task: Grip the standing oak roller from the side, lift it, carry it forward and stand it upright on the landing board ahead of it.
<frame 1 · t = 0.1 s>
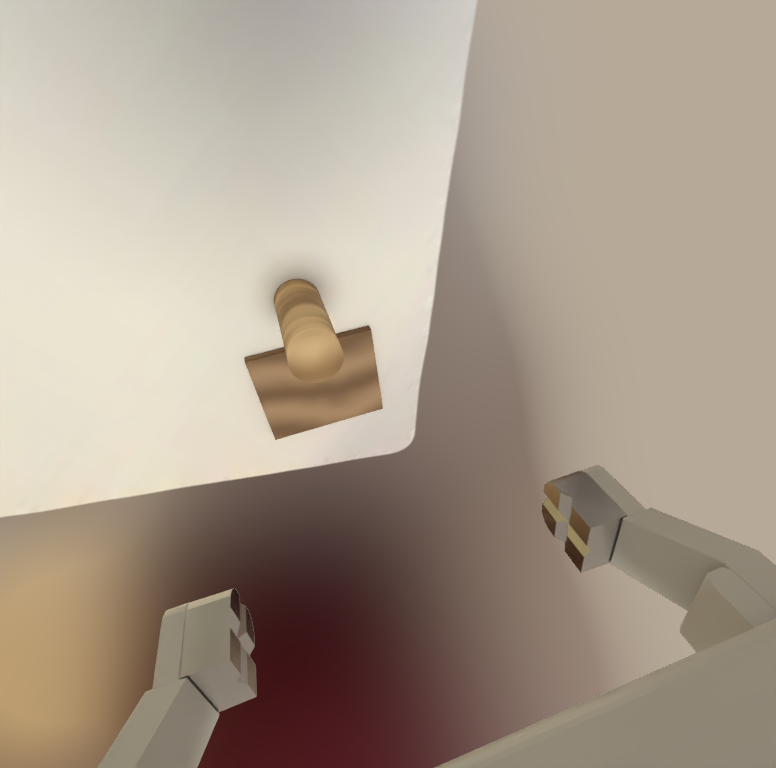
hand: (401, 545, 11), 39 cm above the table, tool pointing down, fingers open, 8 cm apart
landing board: (319, 383, 56), on the table
oak roller: (297, 300, 48), on the table
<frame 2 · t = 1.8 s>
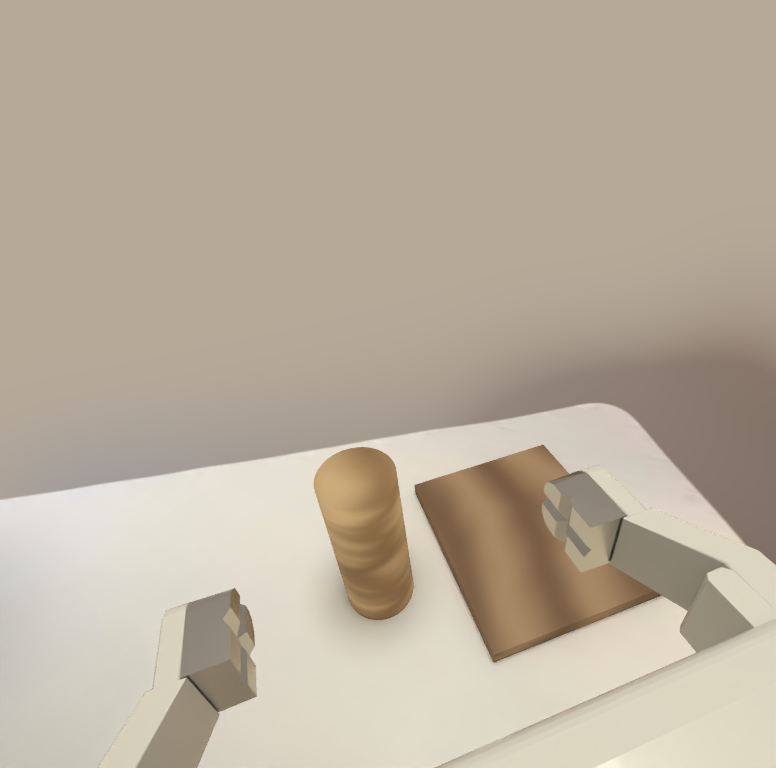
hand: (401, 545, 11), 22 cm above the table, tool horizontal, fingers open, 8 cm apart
landing board: (522, 535, 35), on the table
oak roller: (380, 586, 33), on the table
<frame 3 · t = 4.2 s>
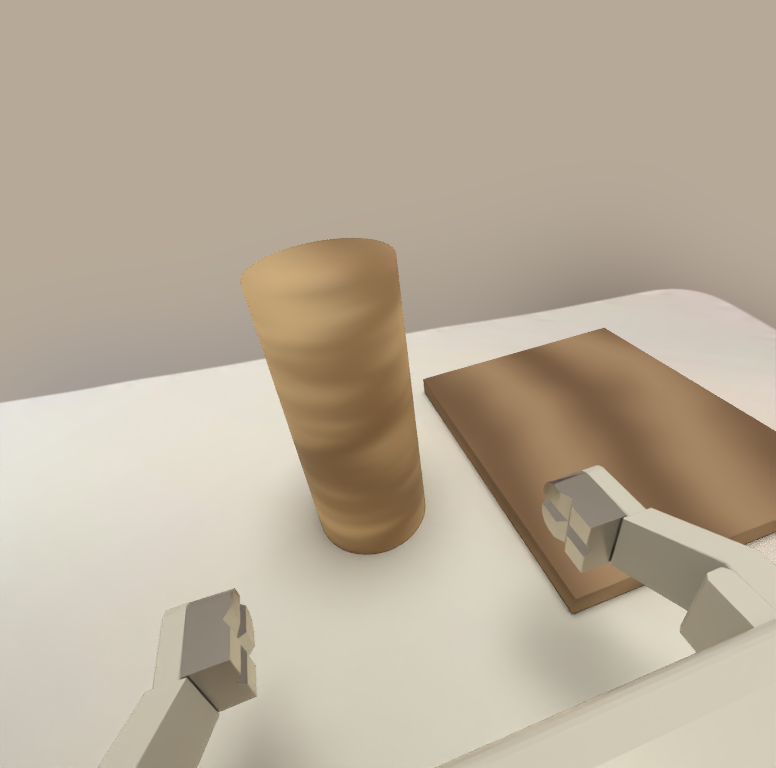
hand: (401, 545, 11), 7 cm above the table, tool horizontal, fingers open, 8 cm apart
landing board: (591, 434, 23), on the table
oak roller: (372, 507, 21), on the table
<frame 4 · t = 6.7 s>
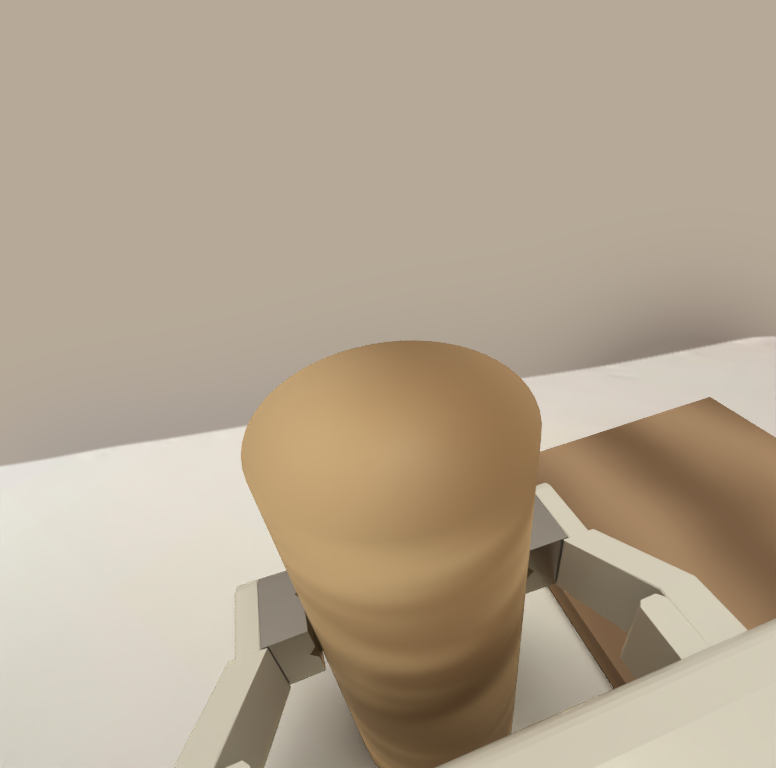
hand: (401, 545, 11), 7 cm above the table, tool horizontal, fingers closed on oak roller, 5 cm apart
landing board: (733, 574, 16), on the table
oak roller: (433, 696, 14), on the table, touching gripper
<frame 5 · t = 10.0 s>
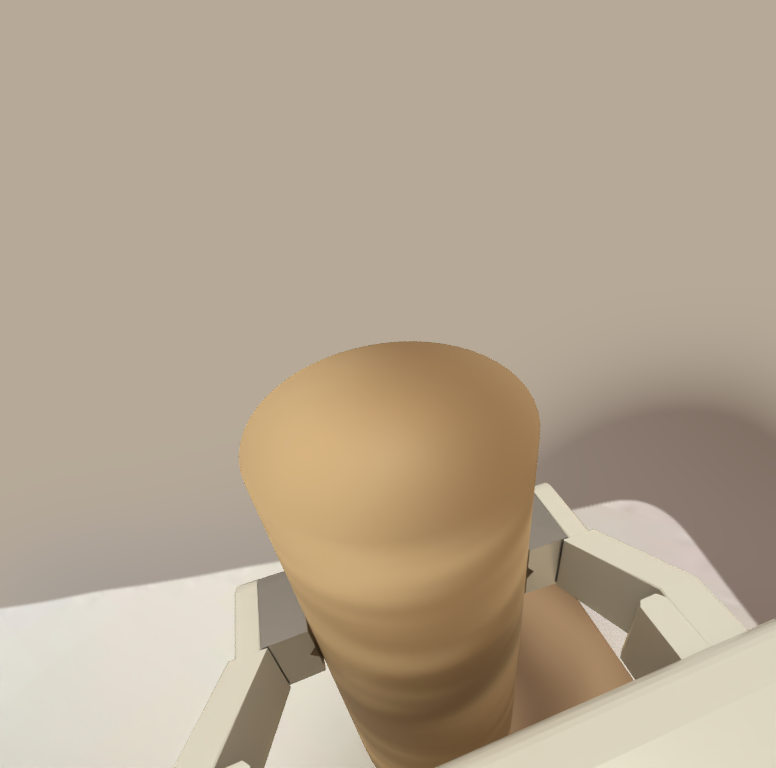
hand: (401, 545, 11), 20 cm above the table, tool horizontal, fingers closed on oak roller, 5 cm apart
landing board: (537, 752, 23), on the table
oak roller: (432, 697, 14), point 13 cm above the table, touching gripper
when the fingers open (9 cm above the table, at t = 13.3 s): oak roller drops 1 cm, resting on landing board.
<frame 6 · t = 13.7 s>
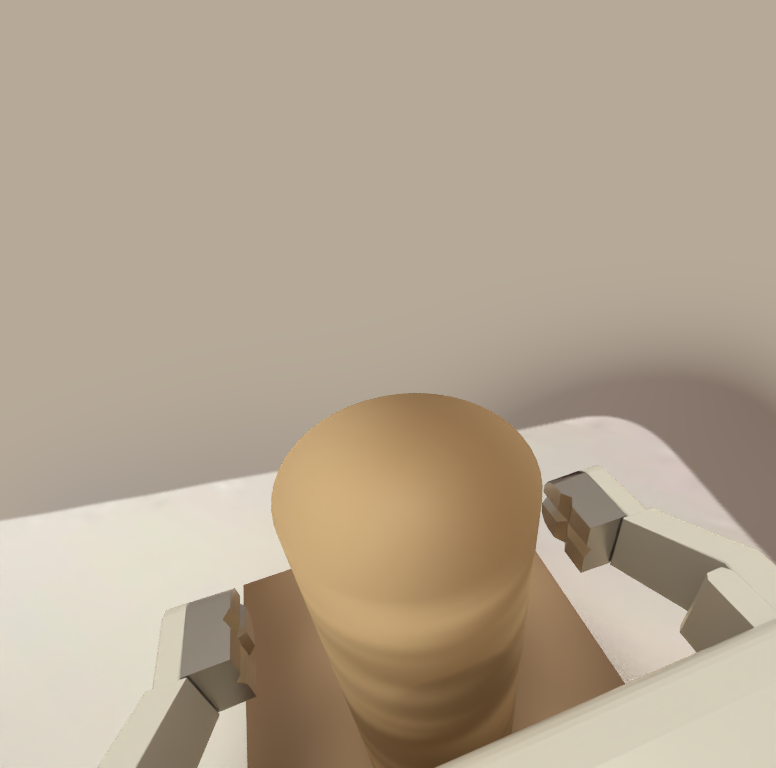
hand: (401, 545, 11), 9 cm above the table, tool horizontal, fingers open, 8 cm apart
landing board: (437, 724, 16), on the table
oak roller: (435, 714, 15), point 1 cm above the table, touching landing board
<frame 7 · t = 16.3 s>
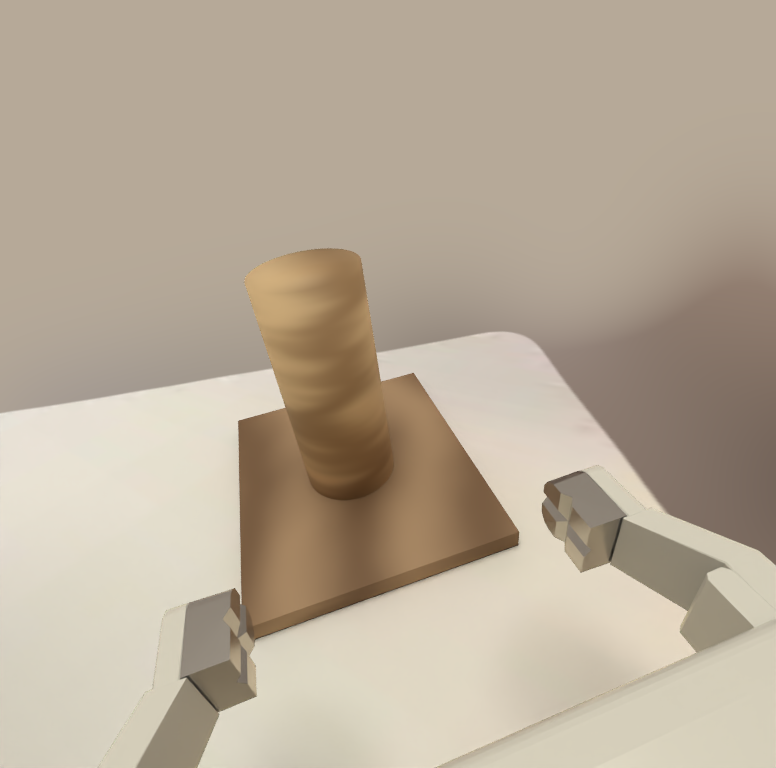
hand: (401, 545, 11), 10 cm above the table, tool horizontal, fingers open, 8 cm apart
landing board: (354, 477, 26), on the table
oak roller: (351, 466, 26), point 1 cm above the table, touching landing board
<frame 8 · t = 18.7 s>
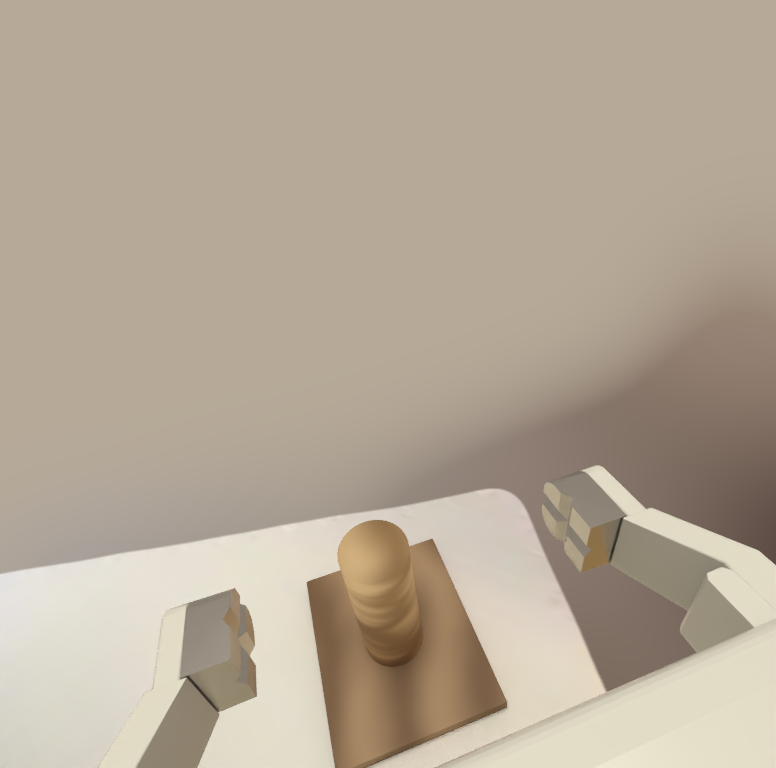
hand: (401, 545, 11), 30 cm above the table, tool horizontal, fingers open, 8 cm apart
landing board: (394, 639, 38), on the table
oak roller: (393, 634, 37), point 1 cm above the table, touching landing board
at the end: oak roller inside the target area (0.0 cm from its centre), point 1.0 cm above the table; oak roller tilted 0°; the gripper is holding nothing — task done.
